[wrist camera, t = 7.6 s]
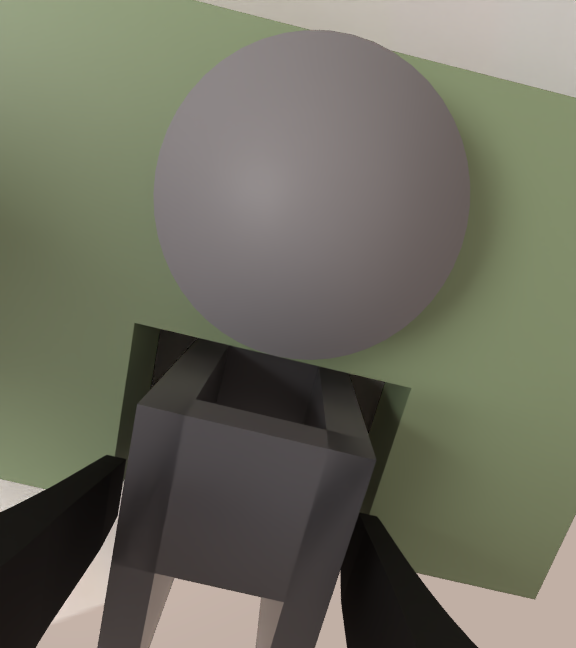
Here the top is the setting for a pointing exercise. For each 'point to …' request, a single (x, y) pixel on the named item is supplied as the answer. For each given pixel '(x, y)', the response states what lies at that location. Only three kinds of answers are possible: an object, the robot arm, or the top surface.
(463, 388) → the notched green slab
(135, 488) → the chute
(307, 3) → the top surface
